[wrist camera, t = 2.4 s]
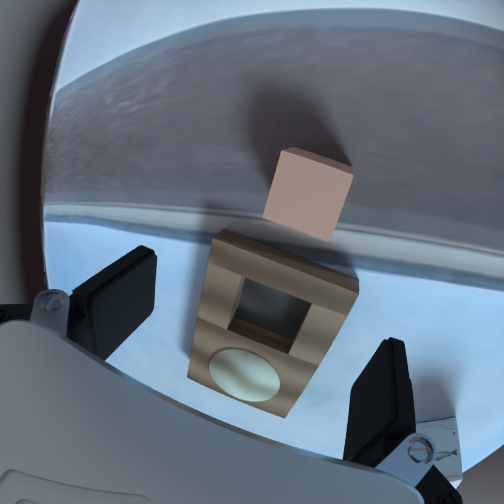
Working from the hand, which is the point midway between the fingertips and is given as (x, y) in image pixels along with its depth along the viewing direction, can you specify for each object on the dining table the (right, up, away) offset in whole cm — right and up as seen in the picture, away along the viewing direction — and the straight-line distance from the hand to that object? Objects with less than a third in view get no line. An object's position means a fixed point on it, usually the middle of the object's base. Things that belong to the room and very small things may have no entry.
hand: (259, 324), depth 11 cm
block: (+6, +9, +18) cm, 21 cm away
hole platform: (+1, -8, +27) cm, 28 cm away
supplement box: (+30, -27, +26) cm, 48 cm away
